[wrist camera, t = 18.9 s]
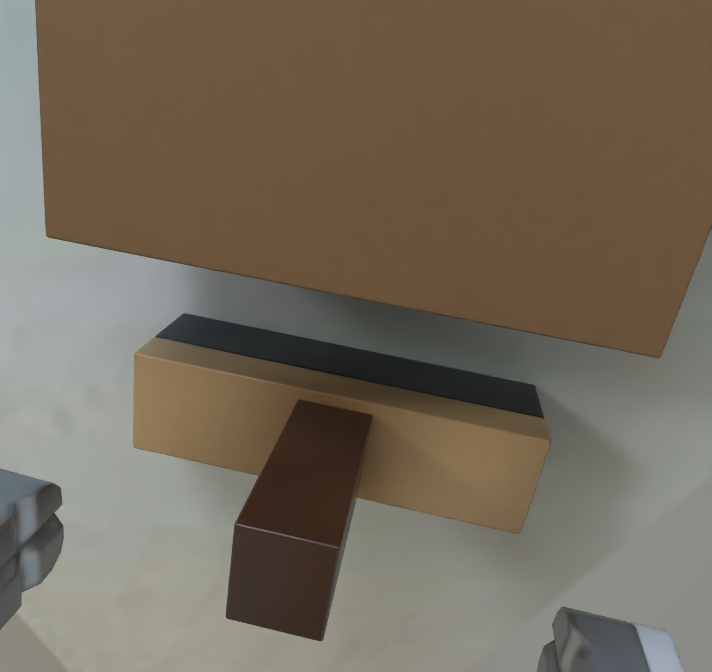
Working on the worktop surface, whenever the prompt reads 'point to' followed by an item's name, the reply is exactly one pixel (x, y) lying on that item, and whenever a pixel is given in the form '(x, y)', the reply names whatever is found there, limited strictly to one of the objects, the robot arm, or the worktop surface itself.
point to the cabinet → (395, 150)
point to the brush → (330, 449)
